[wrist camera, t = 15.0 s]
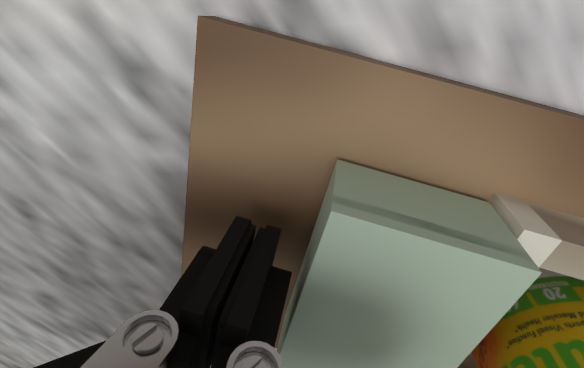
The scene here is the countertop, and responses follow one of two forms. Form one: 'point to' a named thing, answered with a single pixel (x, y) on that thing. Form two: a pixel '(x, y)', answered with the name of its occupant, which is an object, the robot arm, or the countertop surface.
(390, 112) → the board
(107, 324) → the countertop surface
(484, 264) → the block
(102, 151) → the countertop surface
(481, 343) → the supplement bottle
